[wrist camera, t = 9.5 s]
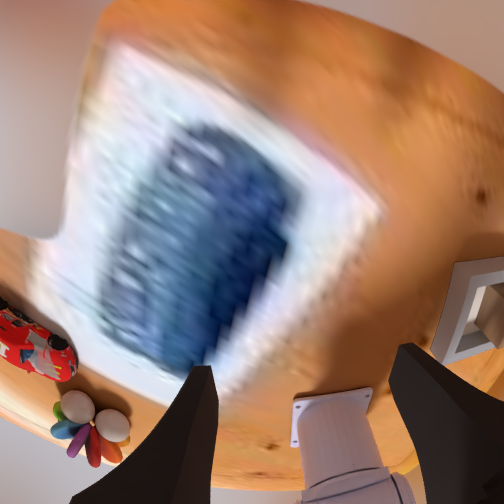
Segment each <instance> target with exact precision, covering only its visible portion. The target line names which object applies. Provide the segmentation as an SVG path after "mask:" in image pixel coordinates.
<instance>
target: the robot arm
mask: <svg viewBox="0 0 504 504" xmlns="http://www.w3.org/2000/svg"><path fill="white" fill-rule="evenodd" d="M388 381H389V385H390V388H391V391H392V395H393V398H394V401H395V403H396V406H397V408H398V410H399V412H400V414H401V417H402V419H403V421H404V423H405V425H406V428H407V430H408V432H409V434H410V437H411V439H412V441H413V444H414V446H415V449H416V452H417V456H418V460H419V463H420V467H421V472H422V476H423V481H424V486H425V493H426V501H427V504H504V402H503V401H501V400H498V399H496V398H494V397H492V396H490V395H488V394H486V393H484V392H482V391H481V390H479V389H477V388H475V387H474V386H472V385H470V384H469V383H467V382H466V381H464V380H463V379H461V378H460V377H458V376H457V375H456V374H454V373H453V372H451V371H450V370H449V369H447V368H446V367H445V366H443V365H442V364H441V363H439V362H438V361H437V360H435V359H434V358H433V357H431V356H430V355H429V354H427V353H426V352H425V351H424V350H422V349H421V348H420V347H418V346H417V345H415V344H414V343H407V344H402V345H399V348H398V351H397V355H396V358H395V361H394V365H393V368H392V371H391V374H390V377H389V380H388ZM372 394H373V389H372V388H371V387H368V388H363V389H357V390H352V391H346V392H340V393H334V394H327V395H320V396H312V397H304V398H297V399H295V400H294V401H293V409H292V426H291V442H290V445H291V447H299V448H300V455H301V461H302V468H303V475H304V482H305V489H306V490H302V500H297V501H296V502H295V503H294V504H416V502H415V499H414V495H413V492H412V489H411V487H410V484H409V482H408V480H407V479H406V477H405V476H404V475H402V474H399V473H398V472H394V473H392V474H390V473H389V469H388V467H387V466H385V467H384V465H383V462H382V459H381V456H380V453H379V450H378V447H377V444H376V442H375V439H374V436H373V433H372V430H371V427H370V424H369V421H368V419H367V416H366V411H367V408H368V406H369V403H370V400H371V397H372ZM218 408H219V400H218V395H217V391H216V387H215V382H214V378H213V373H212V369H211V366H194V367H193V368H192V369H191V371H190V373H189V375H188V377H187V379H186V381H185V382H184V384H183V386H182V388H181V389H180V391H179V393H178V394H177V396H176V398H175V399H174V401H173V402H172V404H171V405H170V407H169V408H168V410H167V411H166V413H165V414H164V416H163V417H162V418H161V420H160V421H159V422H158V424H157V425H156V426H155V428H154V429H153V430H152V431H151V433H150V434H149V435H148V436H147V437H146V438H145V440H144V441H143V442H142V443H141V444H140V445H139V446H138V447H137V448H136V449H135V450H134V451H133V452H132V453H131V454H130V455H129V456H128V457H127V458H126V459H125V460H124V461H123V462H122V463H121V464H119V465H118V466H117V467H116V468H115V469H113V470H112V471H111V472H109V473H108V474H107V475H105V476H104V477H103V478H102V479H100V480H99V481H97V482H96V483H94V484H93V485H91V486H90V487H88V488H86V489H85V490H83V491H81V492H80V493H78V494H76V495H74V496H73V497H72V499H71V501H70V503H69V504H210V486H211V471H212V464H213V457H214V450H215V443H216V436H217V428H218Z"/></svg>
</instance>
